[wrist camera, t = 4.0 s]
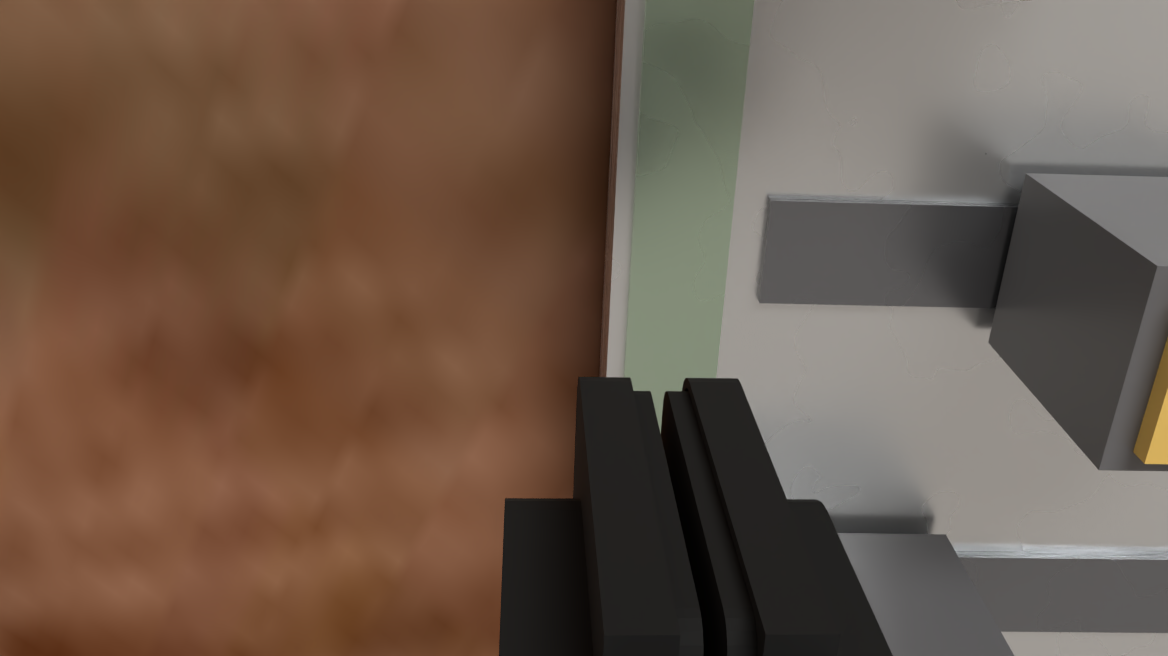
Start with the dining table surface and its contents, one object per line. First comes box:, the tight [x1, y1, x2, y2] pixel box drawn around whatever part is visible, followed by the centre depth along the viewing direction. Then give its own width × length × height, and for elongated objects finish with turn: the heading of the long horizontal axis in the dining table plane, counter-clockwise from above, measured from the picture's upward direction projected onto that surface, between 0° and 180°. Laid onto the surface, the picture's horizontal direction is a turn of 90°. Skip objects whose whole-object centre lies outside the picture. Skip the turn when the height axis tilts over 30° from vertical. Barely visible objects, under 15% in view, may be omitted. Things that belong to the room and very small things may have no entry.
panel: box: [599, 0, 1168, 656], centre depth 18 cm, size 20×17×2 cm
